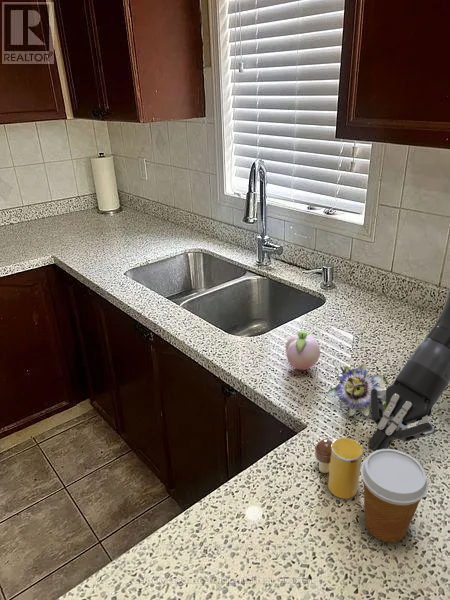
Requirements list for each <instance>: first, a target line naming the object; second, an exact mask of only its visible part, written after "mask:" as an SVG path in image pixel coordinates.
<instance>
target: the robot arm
mask: <svg viewBox="0 0 450 600" xmlns="http://www.w3.org/2000/svg"><path fill="white" fill-rule="evenodd" d="M449 384H450V286H449V288H448V291H447V295H446V298H445V302H444V305H443V307H442V310H441V312H440V314H439V316H438V318H437V320H436V321H435V323H434V325H432V327H431V329H430V331H429V332H428V334H427V335H426V336H425V338H424V339H423V340H422V342H420V343H419V345H418V346H417V347H416V348H415V350H414V351H413V353H412V354H410V356H409V358H408V359H407V361H406V363H405V364H404V365H403V366H402V368H401V370H400V371H399V372H398V374H397V376H396V377H395V380H394V381H393V383H392V384H389V386H387V387H386V389H385V390H381V391H377V390H376V389H373V390H372V391H371V407H370V409H371V420H372V421H373V422H374V423H375V425H376V427H377V428H376V430H375V432H374V433H373V435H372V436H371V437H370V438H369V440H368V449H369V450H371V452H374V451H376V450H381V449H389V447H390V446H391V444H392V443H393V442H394V441H395V440H398V441H401V442H403V443H406V442H410V441H414V440H416V439H420V438H423V437H424V438H425V437H427V436H431V435H434V434H435V433H436V431H437V429H436V428H435V427H434V425H433V424H432V421H431V418H430V416H431V415H432V410H433V407H434V406H435V404H436V403H437V402H438V400H439V399H440V398H441V396H442V395H443V393H444V391H446V389H447V388H448V386H449ZM385 399H386V409H385V411H383V403H384V402H385ZM416 422H417V425H415V426H414V425H413V426H411V427H408V426H409V425H411V424H414V423H416Z"/></svg>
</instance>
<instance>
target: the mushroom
mask: <svg viewBox="0 0 450 600" xmlns="http://www.w3.org/2000/svg"><path fill="white" fill-rule="evenodd" d="M332 442H333V441H332V440H330V439H328V438H322V439H321V440H319V441H318V442H317V444H316V445H315V447H314V457H315V459H316V460H317V461H318V471H320V472H321V473H323V474H327V473H328V474H329V469H330V459H331V444H332Z"/></svg>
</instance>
